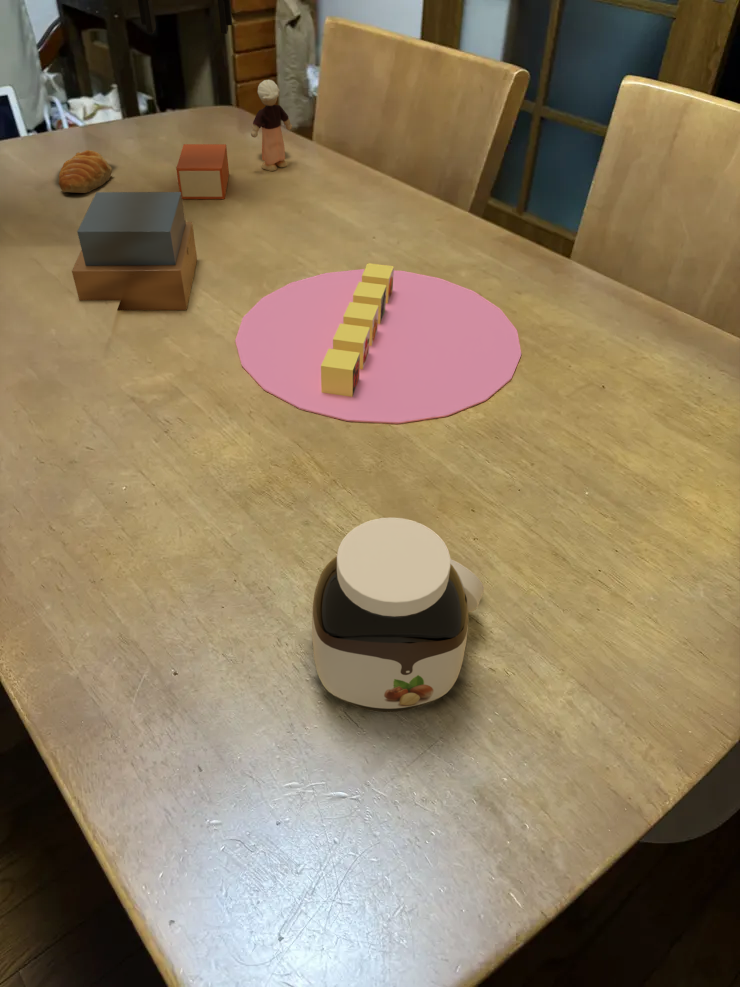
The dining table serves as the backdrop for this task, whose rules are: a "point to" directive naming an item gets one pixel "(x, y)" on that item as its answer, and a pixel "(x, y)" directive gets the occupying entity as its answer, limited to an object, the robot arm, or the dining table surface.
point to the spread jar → (392, 617)
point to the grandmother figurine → (271, 126)
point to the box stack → (136, 251)
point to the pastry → (84, 172)
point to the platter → (378, 345)
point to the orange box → (203, 171)
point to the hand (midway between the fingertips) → (188, 31)
